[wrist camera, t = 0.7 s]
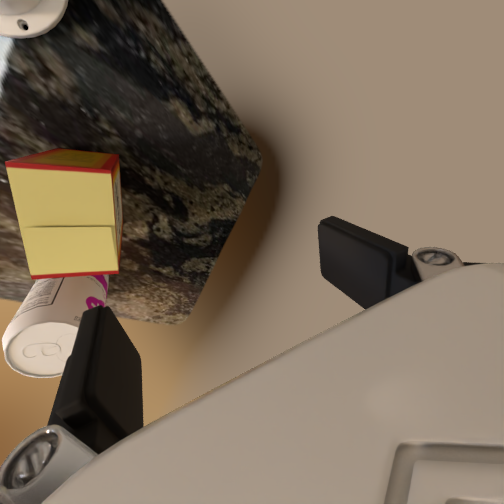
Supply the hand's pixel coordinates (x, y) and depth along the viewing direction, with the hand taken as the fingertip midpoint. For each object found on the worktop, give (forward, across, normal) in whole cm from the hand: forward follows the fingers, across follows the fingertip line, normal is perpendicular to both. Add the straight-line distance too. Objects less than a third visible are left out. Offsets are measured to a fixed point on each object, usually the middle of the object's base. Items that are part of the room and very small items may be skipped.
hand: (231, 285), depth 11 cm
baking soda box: (+31, +9, -1) cm, 32 cm away
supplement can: (+31, +17, +10) cm, 37 cm away
